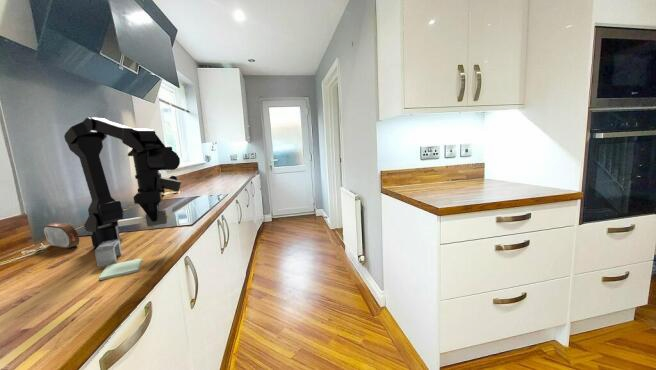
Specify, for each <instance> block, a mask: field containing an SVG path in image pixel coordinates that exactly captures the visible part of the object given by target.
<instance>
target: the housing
mask: <svg viewBox="0 0 656 370" xmlns="http://www.w3.org/2000/svg"><path fill="white" fill-rule="evenodd" d="M121 246H122V245H121V241H120V240H119V239H115V240H110V241H104V242H102V243H101V244H100V245H99V246H98V247H97V249H94V256H95V260H96V265H97V268H101V267H105V266H107V265H112V264H117V263H118V259H117V257H120V256H121V255H122V254H123V250H122V247H121Z"/></svg>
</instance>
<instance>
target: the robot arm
mask: <svg viewBox="0 0 656 370" xmlns="http://www.w3.org/2000/svg"><path fill="white" fill-rule="evenodd" d="M63 136H64V137H63V138H64V140H65V142H66V144H67V146H68V149H69V150H70V151H71V152H72V153H73V154H74V155H75V156H77V157H78V158H79V162H80V164H81V167H82V171H83V176H84V178H85V182H86V185H87V188H88V191H89V194H90V198H91V202H90V204H89V206H88V207H87V208H88V209H87V212H88V217H87V218H86V221H85V222H84V225H83V227H84V230H85V232H90V233H91V234H90V238H91V242H92V243H91V244H92V247H93V250H96V249H97V247H98V246H99V245H100V244H101V243H102V242H104V241H110V240H115V239H119V240H120V242H121V241H122V240H123V239H122V238H121V237H120V236H121V235H120V231H119V227H118V220H123V219H124V209H123V207H122V202H121V201H120V200H116V199H115V198H113V197H112V195H111V191H110V189H109V185H108V180H107V178H106V173H105V171H104V168H103V163H102V161H101V157H100V155H101V153H102V150H103V148H104V145H103V141H104V140H106V139H107V136H110V137H113V138H115V139H119V140H120V141H121V142H122V144H123V145H125V146H127V147H129V148H130V149H131V150H130V151H129V152H128V153H127V156H128V157H132V158H133V163H134V164H133V165H134V169H135V175H134V177H135V180H136V182H137V192H136V194H134V195H133V203H134V204H135V205H139V206H140V208H142V209H143V211H144V213H145V215H146V214H147V215H148V216H149V217H150V219H151V220H152V221H153V222H154V221H157V211H160V203H161V202H162V200H163V198H164V197H165V193H166V190H170V191H173V192H176V193H177V192H179V191H180V189H181V184H182V180H180V179H179V180H178V176H176V175H171V176H170V177H165V176H164V177H163V176H162V173H161V172H160V171H174V170H177V169H178V167H179V166H180V164H181V159H180V157H179V155H178V153H176V151H173V147H172V146H165V144H164V143H163V141H162V140H161V139H160V137H159V136H158V135H157V133H156V131H155V130H154V129H151V128H140V127H138V128H137V127H136V128H135V127H130V126H127V125H124V124H121V123H119V122H118V123H117V122H114V121H111V120H108V119H106V118H103V117H91V116H90V117H89V116H88V117H86V118H84V119H83V121H82V122H79V123H77V124H74V125H72V126H71V127H70V128H68V130H67V131H66V132H65V134H64V135H63Z"/></svg>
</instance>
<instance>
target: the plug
mask: <svg viewBox="0 0 656 370" xmlns="http://www.w3.org/2000/svg"><path fill="white" fill-rule="evenodd" d="M169 218H170V214H167V211H166V209H163V210H159V211H157V221H154V222H153V221H152V220H151V219H150V217H149V216H148V215H147V214H146V213H145V216H143V215H142V216H138V217H137V216H136V217H131V218H125V219H124V218H123V220H118V228H119V227H125V226H131V225H137V224H143V223H146V225H147V227H153V226H159V225H165V224H167V222H168V219H169Z"/></svg>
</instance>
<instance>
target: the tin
mask: <svg viewBox="0 0 656 370" xmlns="http://www.w3.org/2000/svg"><path fill="white" fill-rule="evenodd" d="M42 233H44V237H45V240H46V242H47V243H48V244H49V245H50V246H52V247H54V248H61V249H71V248H73V247H76V246H79V245H80V244H79V243H80V235H79V234H78V231H77V230H76V228H75V227H74V226H73V225H71V224H69V223H63V222H55V221H54V222H51V223H49V224H46V225H44V226H43V228H42Z"/></svg>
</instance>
